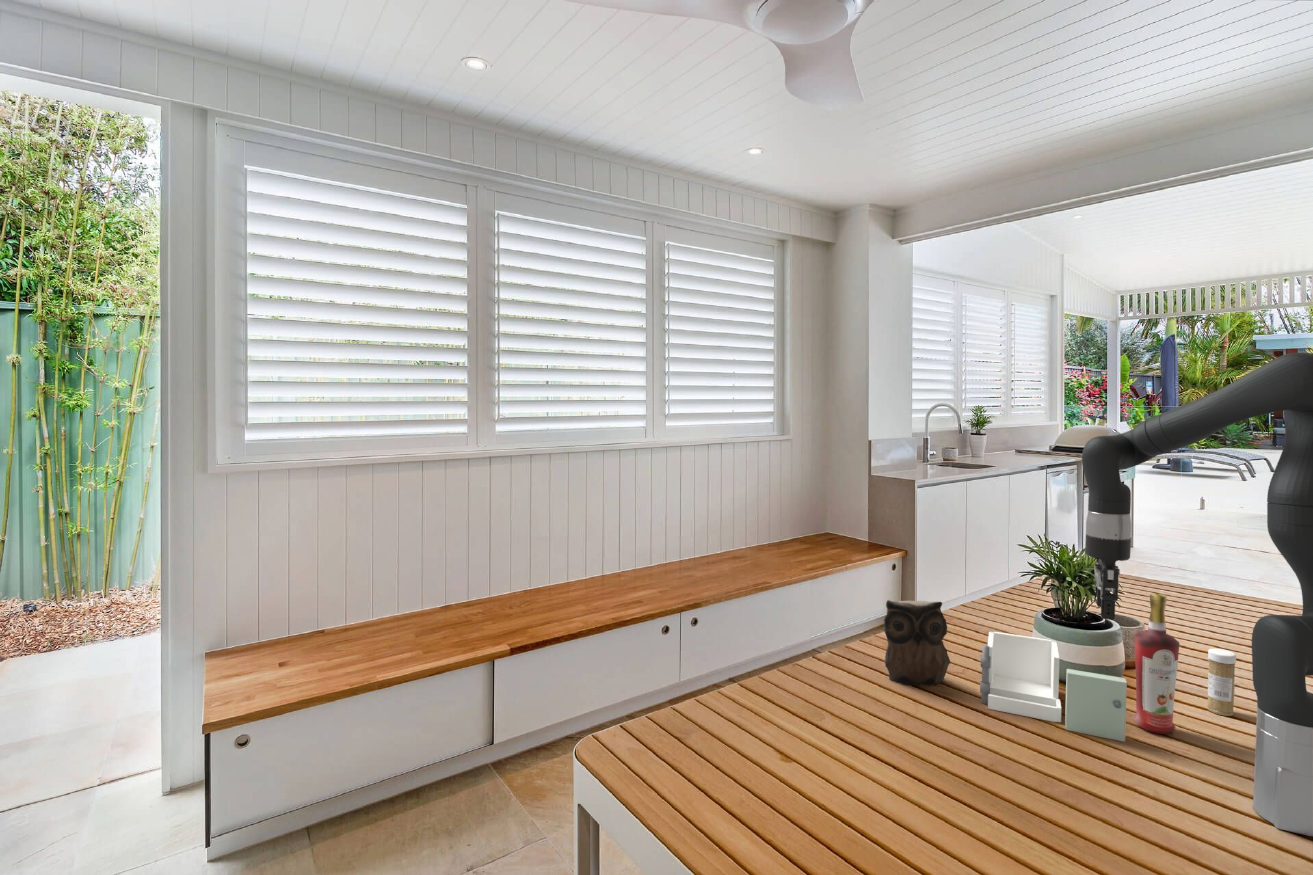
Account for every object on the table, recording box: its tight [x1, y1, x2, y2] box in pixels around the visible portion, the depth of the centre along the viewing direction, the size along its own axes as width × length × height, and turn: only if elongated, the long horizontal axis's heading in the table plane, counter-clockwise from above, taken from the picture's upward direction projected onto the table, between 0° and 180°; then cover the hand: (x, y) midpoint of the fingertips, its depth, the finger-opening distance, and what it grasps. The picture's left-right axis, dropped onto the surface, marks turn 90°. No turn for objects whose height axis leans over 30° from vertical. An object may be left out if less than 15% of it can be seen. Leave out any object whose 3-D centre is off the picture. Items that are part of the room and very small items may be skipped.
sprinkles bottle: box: [1206, 648, 1237, 717], centre depth 141 cm, size 5×5×14 cm
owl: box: [883, 599, 951, 687], centre depth 158 cm, size 13×13×20 cm
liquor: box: [1133, 593, 1180, 735], centre depth 133 cm, size 7×7×28 cm
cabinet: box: [979, 630, 1062, 723], centre depth 148 cm, size 18×16×13 cm
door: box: [1064, 668, 1128, 742], centre depth 132 cm, size 4×10×12 cm, turn 61°
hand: (1105, 612), depth 131 cm, fingers open, 8 cm apart
